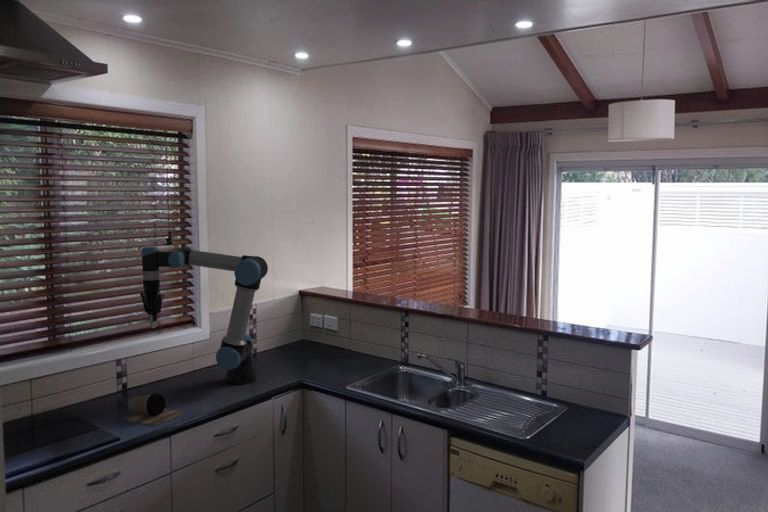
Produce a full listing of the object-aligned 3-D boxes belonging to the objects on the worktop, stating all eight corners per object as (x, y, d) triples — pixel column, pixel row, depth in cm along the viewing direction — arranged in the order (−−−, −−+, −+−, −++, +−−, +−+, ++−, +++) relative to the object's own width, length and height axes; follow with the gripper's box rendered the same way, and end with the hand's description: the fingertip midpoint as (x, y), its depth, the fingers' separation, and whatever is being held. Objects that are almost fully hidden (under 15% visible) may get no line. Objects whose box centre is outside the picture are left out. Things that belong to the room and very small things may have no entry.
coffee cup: (121, 400, 265) (146, 400, 258) (137, 389, 273) (162, 389, 266) (128, 419, 267) (154, 420, 261) (144, 408, 275) (169, 408, 269)
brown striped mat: (183, 413, 270) (183, 412, 269) (156, 426, 255) (156, 425, 255) (152, 407, 277) (151, 406, 277) (123, 419, 262) (123, 418, 262)
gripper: (134, 279, 299) (137, 327, 301) (155, 281, 293) (158, 330, 296) (146, 277, 305) (148, 324, 308) (167, 278, 300) (169, 327, 303)
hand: (153, 327), depth 302 cm, fingers closed
